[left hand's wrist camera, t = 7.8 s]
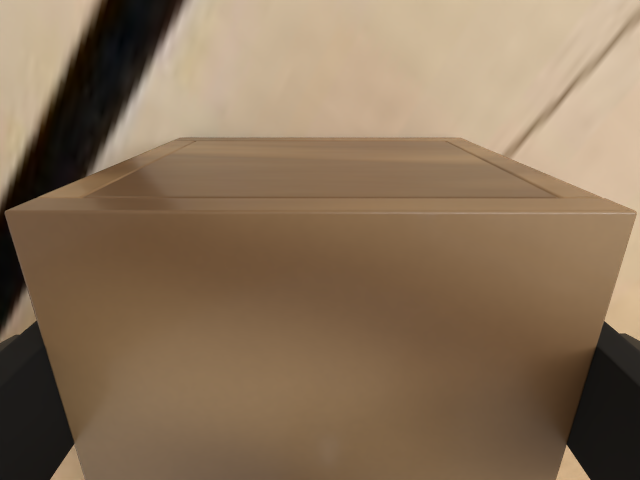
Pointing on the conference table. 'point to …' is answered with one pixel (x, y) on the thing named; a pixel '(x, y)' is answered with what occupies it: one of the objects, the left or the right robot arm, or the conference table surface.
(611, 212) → the cabinet
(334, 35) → the conference table surface
